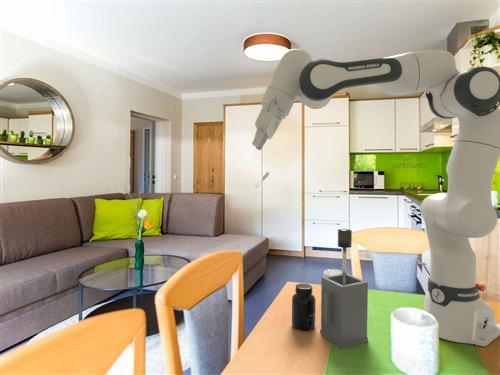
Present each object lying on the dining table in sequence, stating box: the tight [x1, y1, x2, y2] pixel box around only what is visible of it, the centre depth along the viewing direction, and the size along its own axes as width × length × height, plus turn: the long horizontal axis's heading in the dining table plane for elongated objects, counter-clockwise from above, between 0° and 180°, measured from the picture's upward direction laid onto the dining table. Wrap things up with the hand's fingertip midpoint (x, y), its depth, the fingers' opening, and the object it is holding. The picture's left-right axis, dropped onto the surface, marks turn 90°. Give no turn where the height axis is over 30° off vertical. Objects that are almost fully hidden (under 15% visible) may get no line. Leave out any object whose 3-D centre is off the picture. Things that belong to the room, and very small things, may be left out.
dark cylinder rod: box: [337, 228, 353, 285], centre depth 89 cm, size 6×6×17 cm
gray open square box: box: [319, 272, 369, 350], centre depth 89 cm, size 11×9×16 cm
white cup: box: [323, 268, 342, 277], centre depth 115 cm, size 8×8×10 cm
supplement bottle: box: [291, 283, 316, 332], centre depth 96 cm, size 7×7×12 cm
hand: (256, 147), depth 96 cm, fingers open, 8 cm apart
